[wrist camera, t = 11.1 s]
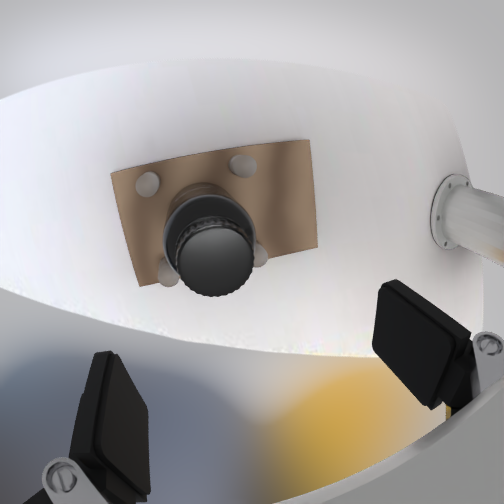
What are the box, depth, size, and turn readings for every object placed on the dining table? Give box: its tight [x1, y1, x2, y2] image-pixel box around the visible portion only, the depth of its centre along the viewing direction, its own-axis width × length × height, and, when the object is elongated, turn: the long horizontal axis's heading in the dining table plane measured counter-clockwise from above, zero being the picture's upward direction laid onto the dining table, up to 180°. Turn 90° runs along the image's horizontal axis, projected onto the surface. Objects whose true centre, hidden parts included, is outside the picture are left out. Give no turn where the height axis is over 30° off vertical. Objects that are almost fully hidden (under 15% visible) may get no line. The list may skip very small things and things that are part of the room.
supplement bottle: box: [162, 182, 256, 297], centre depth 22 cm, size 7×7×12 cm
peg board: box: [111, 140, 318, 287], centre depth 28 cm, size 20×12×4 cm, turn 97°
